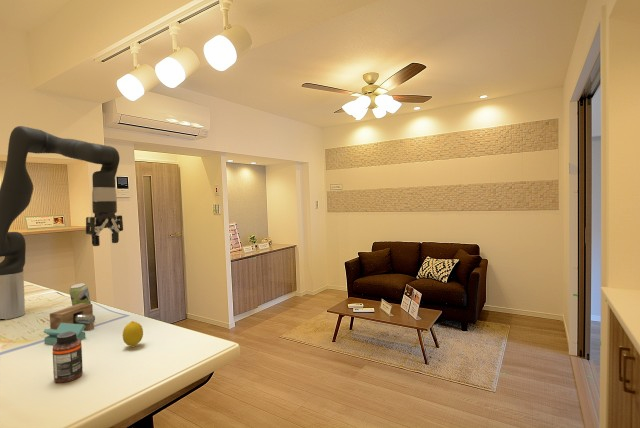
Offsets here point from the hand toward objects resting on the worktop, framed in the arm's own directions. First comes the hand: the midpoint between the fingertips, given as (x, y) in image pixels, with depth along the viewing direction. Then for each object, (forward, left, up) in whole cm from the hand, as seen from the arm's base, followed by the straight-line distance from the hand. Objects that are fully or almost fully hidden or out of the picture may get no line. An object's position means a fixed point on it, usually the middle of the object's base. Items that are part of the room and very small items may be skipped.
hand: (105, 244), depth 123 cm
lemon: (+24, -16, -30) cm, 41 cm away
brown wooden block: (-6, -6, -29) cm, 31 cm away
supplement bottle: (+21, -35, -30) cm, 50 cm away
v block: (-1, -16, -29) cm, 33 cm away
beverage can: (-20, +8, -30) cm, 37 cm away
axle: (-8, -6, -26) cm, 28 cm away
